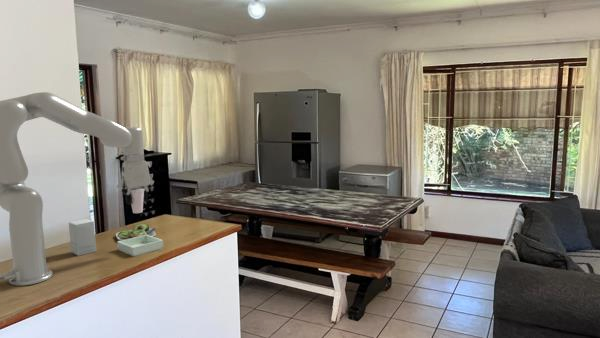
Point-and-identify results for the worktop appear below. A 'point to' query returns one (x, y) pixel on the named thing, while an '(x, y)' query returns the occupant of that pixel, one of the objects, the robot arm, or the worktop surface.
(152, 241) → the bin
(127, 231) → the avocado toast plate
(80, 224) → the supplement box
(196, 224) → the worktop surface
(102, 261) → the worktop surface
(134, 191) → the smoothie
